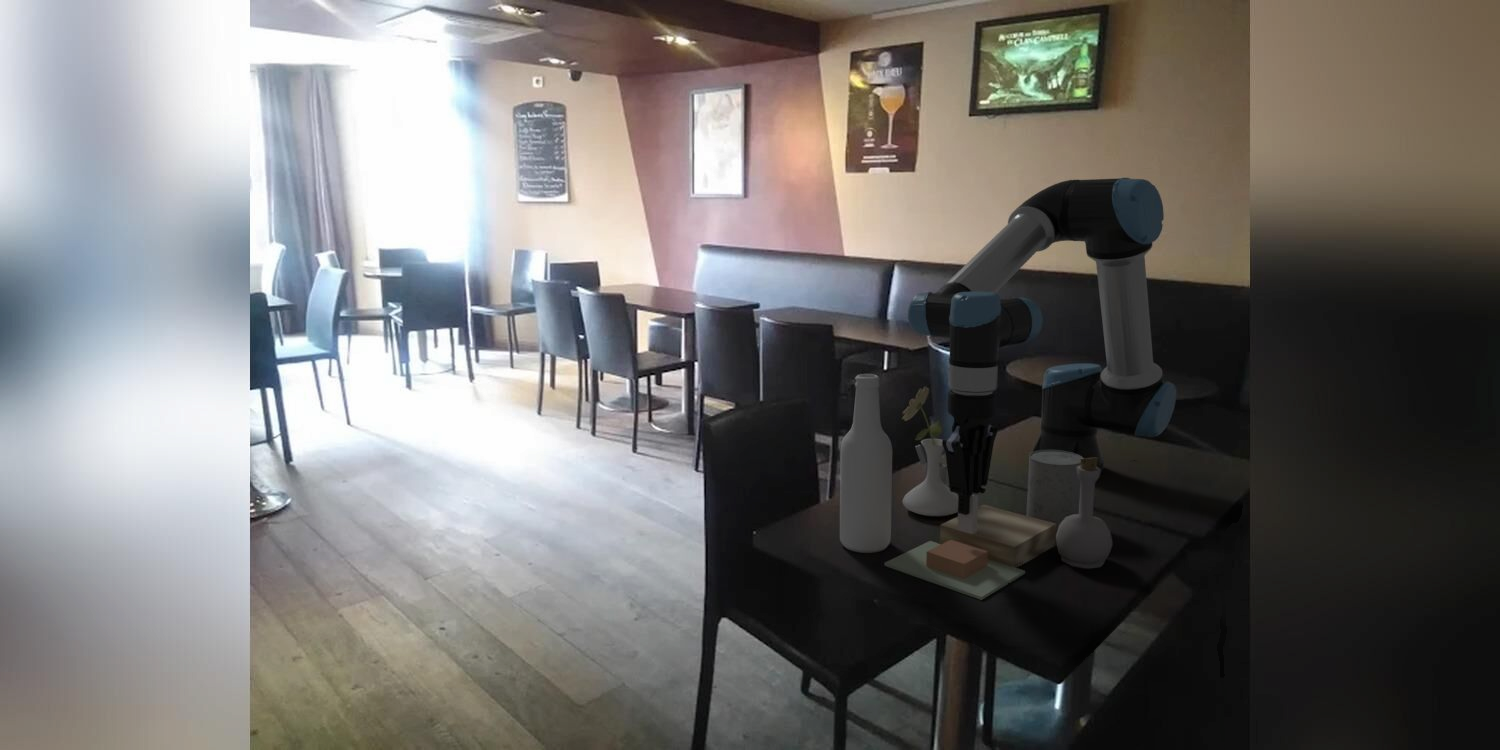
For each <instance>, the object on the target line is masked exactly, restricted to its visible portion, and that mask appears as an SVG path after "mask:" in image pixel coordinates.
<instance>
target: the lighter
mask: <svg viewBox="0 0 1500 750" xmlns="http://www.w3.org/2000/svg"><path fill="white" fill-rule="evenodd" d="M915 451H916V453H917V456H918V458H919V461H920V465H921V466H922V465H925V464H926V470H925V475H926V476H925V478H926V477H927V472H928V461H927V454H926V450H925V448H924V446H923V445H922V443H921V444H918V445H915ZM947 476H948V470H947V465H945V464H943V462H942V459H941V460H940V478H941V480H942V482H943V483H944V484H945V485H946V486H947Z"/></svg>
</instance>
